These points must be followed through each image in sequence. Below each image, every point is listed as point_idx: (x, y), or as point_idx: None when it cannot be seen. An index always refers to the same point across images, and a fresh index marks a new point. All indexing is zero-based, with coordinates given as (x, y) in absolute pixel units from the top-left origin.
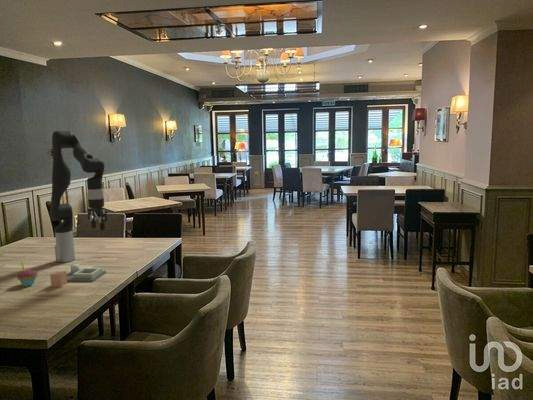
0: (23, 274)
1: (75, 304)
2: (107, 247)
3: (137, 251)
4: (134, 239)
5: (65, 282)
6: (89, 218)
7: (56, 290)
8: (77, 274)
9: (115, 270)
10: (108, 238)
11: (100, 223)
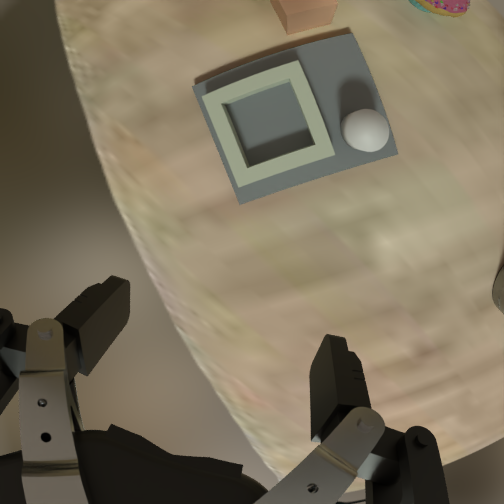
0: None
1: None
2: (451, 418)
3: None
4: None
5: (282, 21)
6: (402, 446)
7: None
8: (273, 68)
9: (230, 244)
10: (476, 449)
11: (64, 320)
